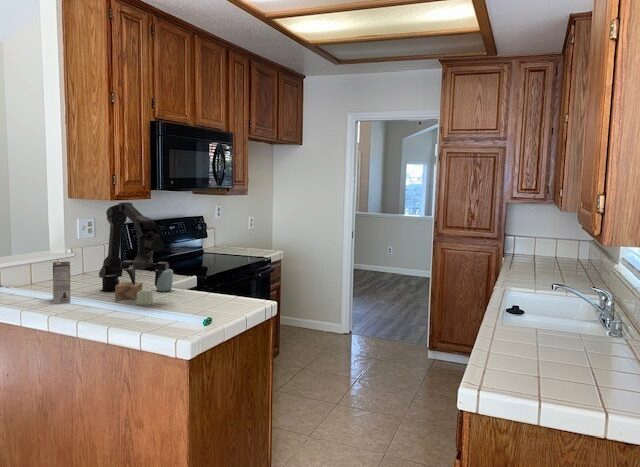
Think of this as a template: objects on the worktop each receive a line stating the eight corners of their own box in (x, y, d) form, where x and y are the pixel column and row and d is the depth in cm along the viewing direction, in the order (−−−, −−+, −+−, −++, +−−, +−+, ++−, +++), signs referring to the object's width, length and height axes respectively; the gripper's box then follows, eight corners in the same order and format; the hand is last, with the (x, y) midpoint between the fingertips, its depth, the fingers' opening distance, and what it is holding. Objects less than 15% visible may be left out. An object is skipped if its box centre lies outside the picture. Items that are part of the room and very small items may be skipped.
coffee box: (52, 299, 207) (52, 261, 206) (69, 297, 210) (69, 261, 209) (53, 304, 199) (52, 265, 198) (70, 302, 202) (70, 264, 201)
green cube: (136, 304, 205) (136, 292, 205) (140, 301, 210) (141, 290, 210) (148, 304, 205) (148, 293, 205) (152, 302, 210) (152, 290, 210)
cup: (167, 293, 227) (167, 272, 226) (152, 291, 228) (152, 270, 227) (175, 290, 235) (175, 269, 234) (160, 288, 236) (161, 268, 235)
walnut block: (115, 299, 211) (115, 286, 211) (121, 295, 220) (121, 282, 220) (136, 300, 212) (136, 286, 212) (142, 295, 221) (142, 282, 221)
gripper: (115, 250, 197) (115, 288, 199) (161, 252, 198) (161, 290, 199) (125, 247, 208) (125, 283, 210) (169, 249, 209) (168, 284, 210)
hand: (144, 285), depth 207 cm, fingers open, 9 cm apart
